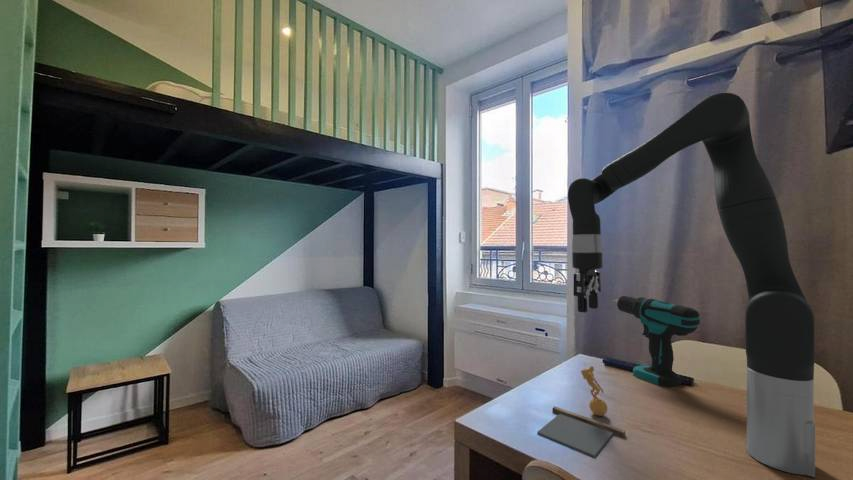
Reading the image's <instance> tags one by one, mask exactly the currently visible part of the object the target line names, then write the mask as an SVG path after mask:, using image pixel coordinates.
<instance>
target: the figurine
mask: <svg viewBox="0 0 853 480" xmlns="http://www.w3.org/2000/svg"><path fill="white" fill-rule="evenodd" d="M594 371H595V368H594V366H592V365H591V366H589V367H588V368H583V369H582V370H581V371H580V373H581V375H582V378H583V380H584V381H585V380H586V382H587V384H588V386H590V387H591V389H590V395H591V396H592V397H593V398H592V399H590V402H589V409H590V411H591V412H592V414H593V415H595V416H598V417H602V416H605V415H606V414H607V413H608V410H609V409H608V405H607V403H606V401H605V400H603V399H602V398H599V397H598V394H599V393H600V391H601V393H602V394H604V389H602V387H601V385H600V384H599V383H598V380H596V377H595V375H594Z"/></svg>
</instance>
